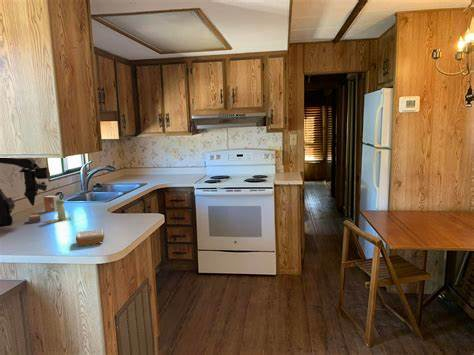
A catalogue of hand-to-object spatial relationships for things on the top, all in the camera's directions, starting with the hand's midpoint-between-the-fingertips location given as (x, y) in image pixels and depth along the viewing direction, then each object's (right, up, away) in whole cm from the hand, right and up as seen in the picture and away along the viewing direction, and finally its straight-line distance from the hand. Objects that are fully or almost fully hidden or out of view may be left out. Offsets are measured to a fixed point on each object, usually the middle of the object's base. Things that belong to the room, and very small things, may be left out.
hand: (33, 205), depth 210 cm
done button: (0, -8, +1) cm, 8 cm away
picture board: (+13, -9, +7) cm, 17 cm away
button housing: (0, -10, +1) cm, 11 cm away
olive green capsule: (+16, -9, +4) cm, 18 cm away
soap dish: (+51, -15, -41) cm, 67 cm away
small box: (-4, -7, +31) cm, 32 cm away
